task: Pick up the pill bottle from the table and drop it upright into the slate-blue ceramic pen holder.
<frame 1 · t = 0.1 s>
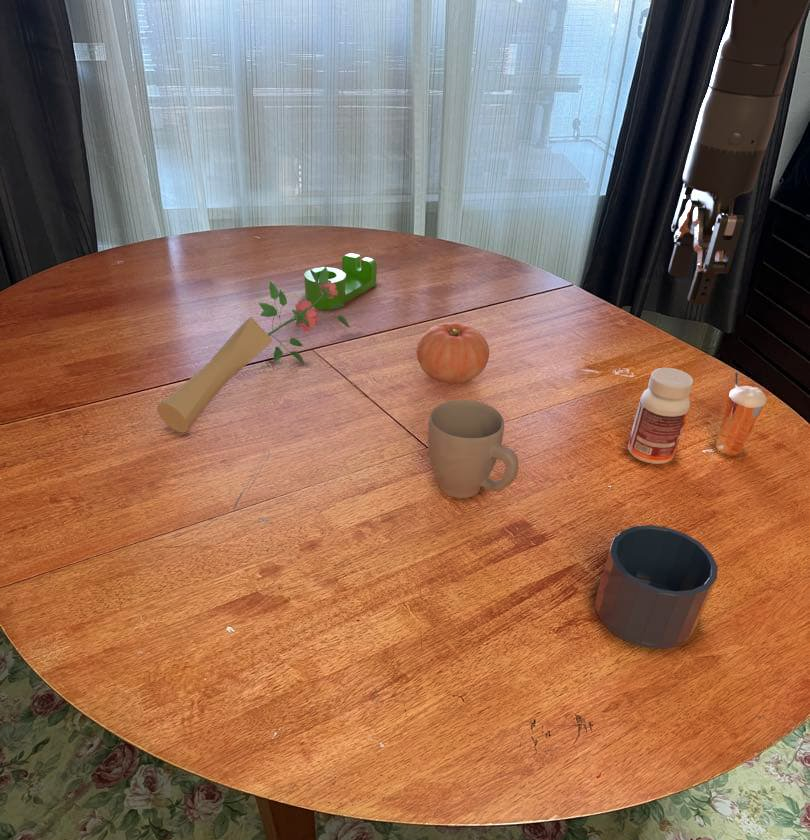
hand: (686, 288, 91), 21 cm above the table, tool pointing down, fingers open, 8 cm apart
flower vase: (255, 382, 112), on the table
pill bottle: (649, 453, 102), on the table
pen holder: (644, 611, 79), on the table
tape dispenser: (338, 294, 137), on the table
pumpkin: (450, 377, 116), on the table
milkshake: (725, 448, 104), on the table
mug: (469, 491, 94), on the table
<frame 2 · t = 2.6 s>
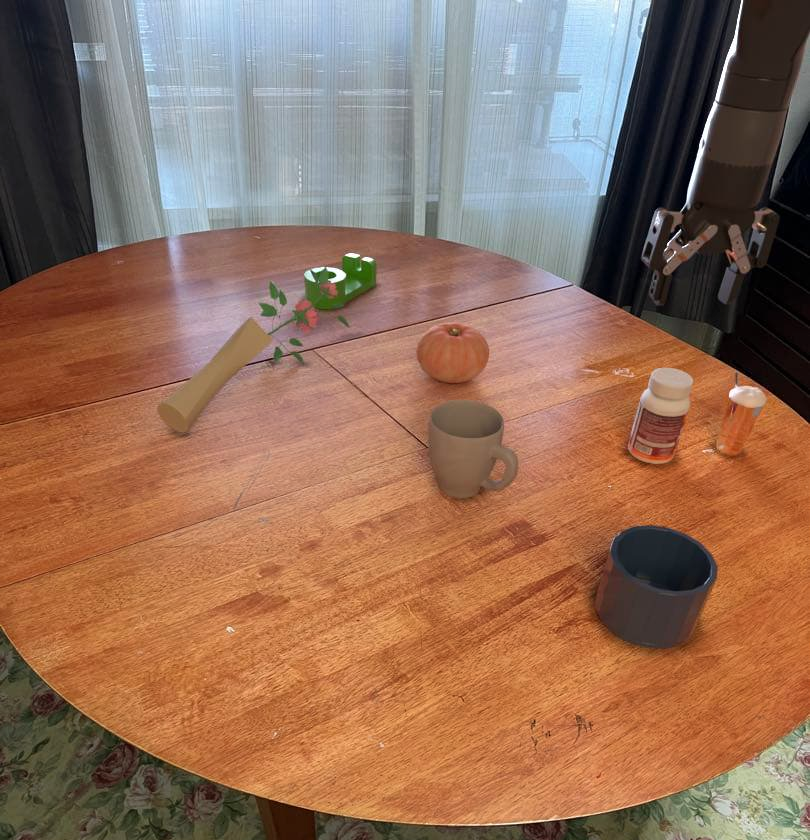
hand: (691, 302, 90), 20 cm above the table, tool pointing down, fingers open, 8 cm apart
nothing on the table moved.
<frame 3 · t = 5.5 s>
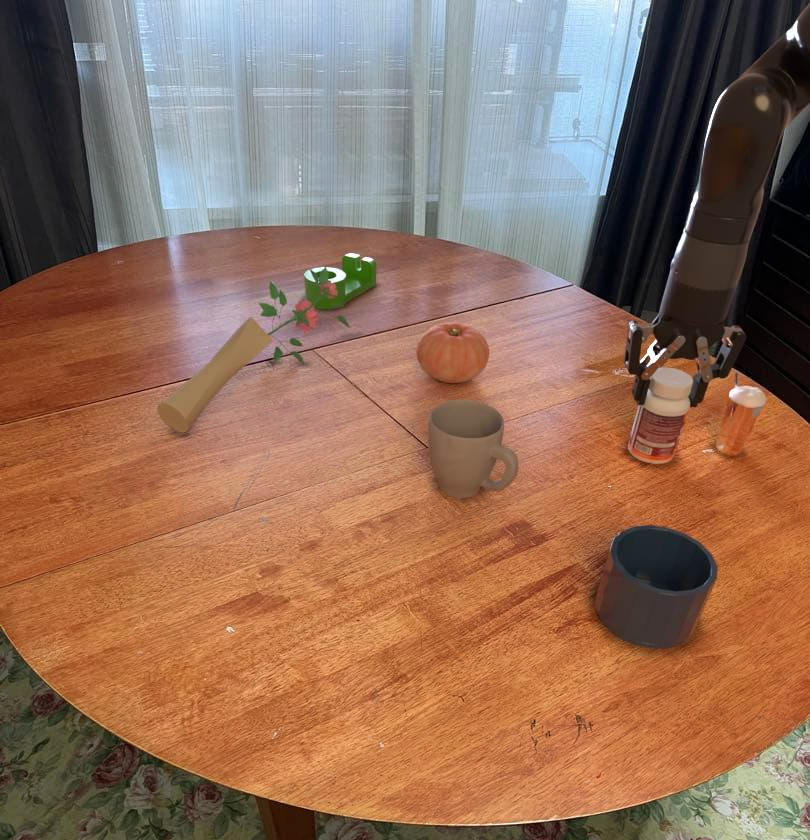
hand: (665, 402, 97), 8 cm above the table, tool pointing down, fingers closed on pill bottle, 6 cm apart
pill bottle: (649, 453, 102), on the table, touching gripper
everything else where it was.
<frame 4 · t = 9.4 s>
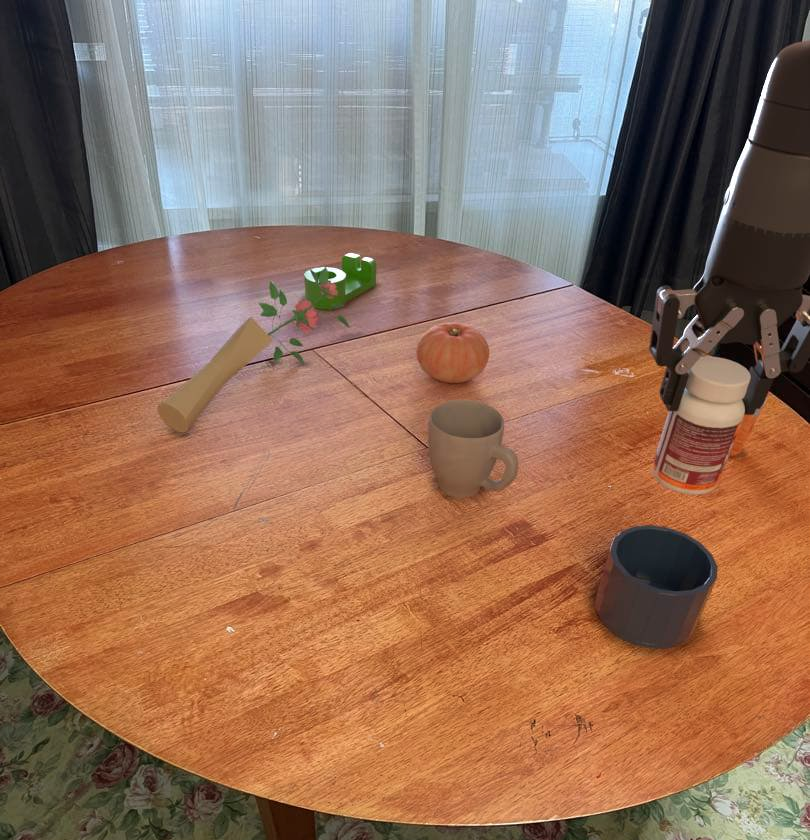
hand: (707, 407, 67), 22 cm above the table, tool pointing down, fingers closed on pill bottle, 6 cm apart
pill bottle: (682, 479, 72), point 15 cm above the table, touching gripper
everything else where it was.
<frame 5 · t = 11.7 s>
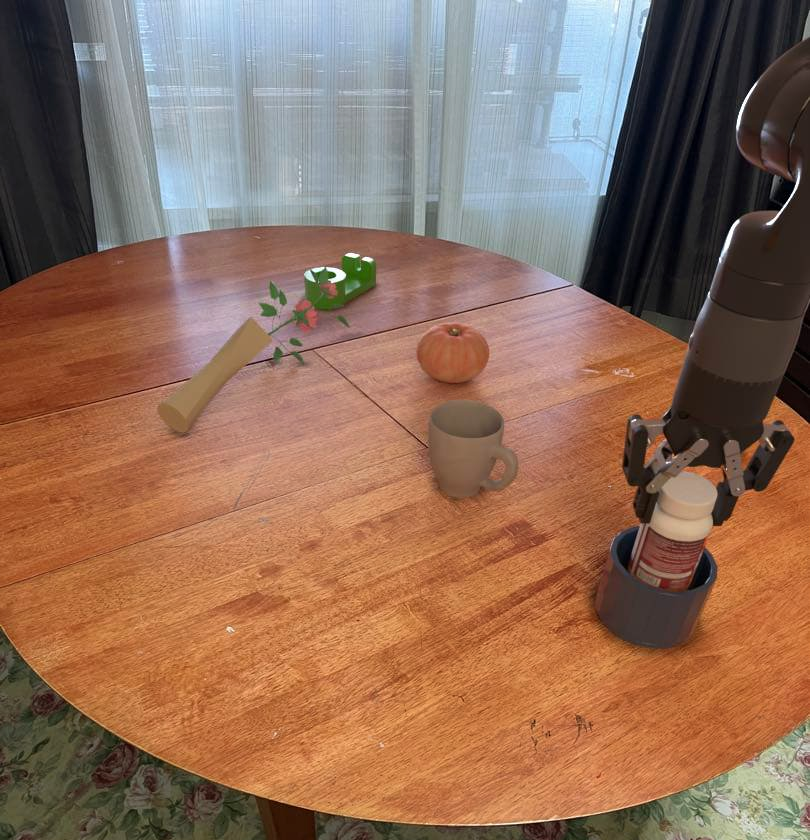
hand: (678, 519, 71), 12 cm above the table, tool pointing down, fingers closed on pill bottle, 6 cm apart
pill bottle: (656, 579, 76), point 5 cm above the table, touching gripper
everything else where it was.
when the fingers open (8 cm above the table, at t = 13.5 s): pill bottle stays where it is, resting on pen holder.
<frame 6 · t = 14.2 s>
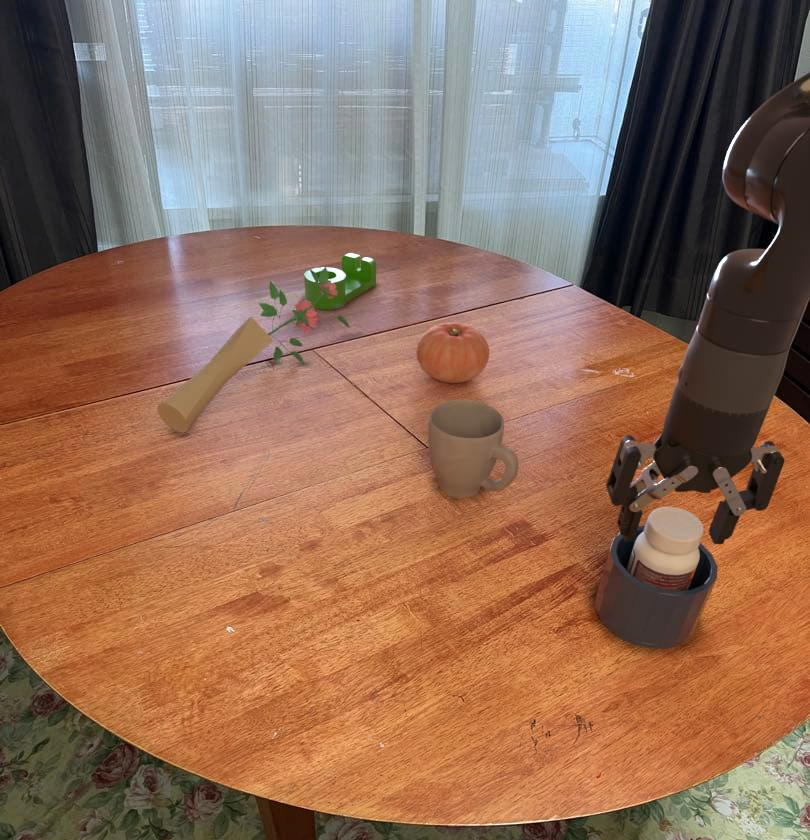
hand: (671, 537, 73), 10 cm above the table, tool pointing down, fingers open, 8 cm apart
pill bottle: (646, 608, 79), resting on pen holder
everything else where it was.
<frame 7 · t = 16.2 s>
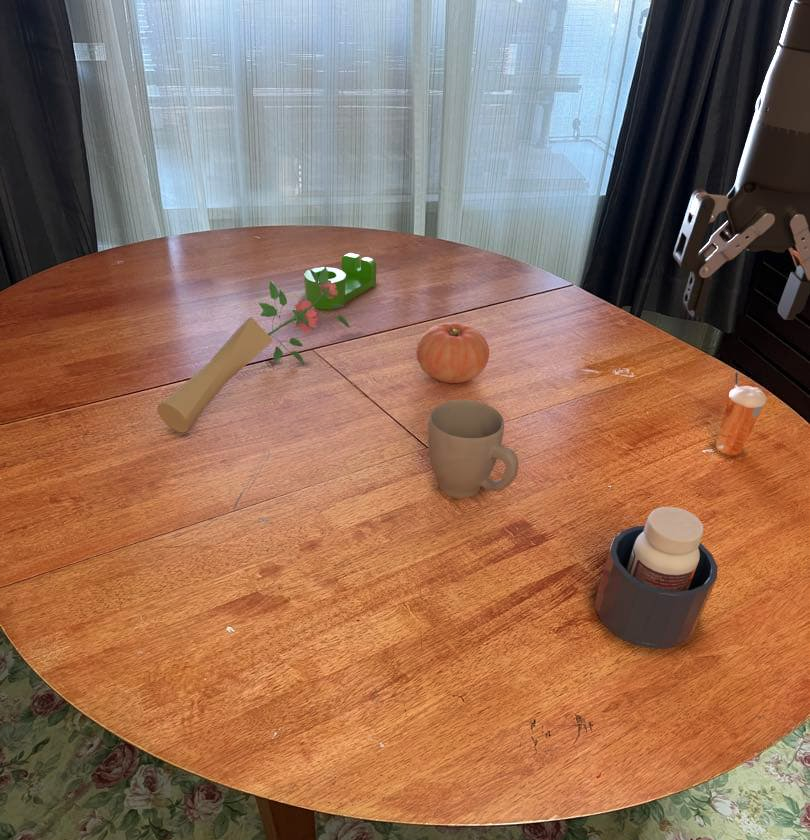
hand: (739, 315, 70), 28 cm above the table, tool pointing down, fingers open, 8 cm apart
nothing on the table moved.
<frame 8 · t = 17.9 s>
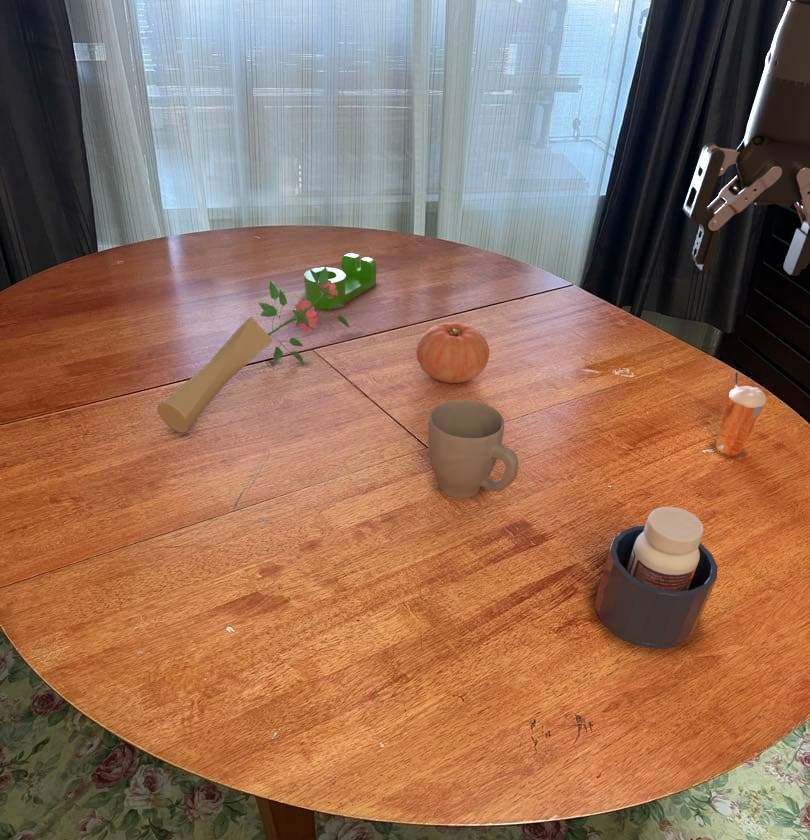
hand: (746, 270, 72), 30 cm above the table, tool pointing down, fingers open, 8 cm apart
nothing on the table moved.
at the end: pill bottle 0.1 cm off-centre in the pen holder, point 0.4 cm above the pen holder's base; pill bottle tilted 0°; the gripper is holding nothing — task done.
